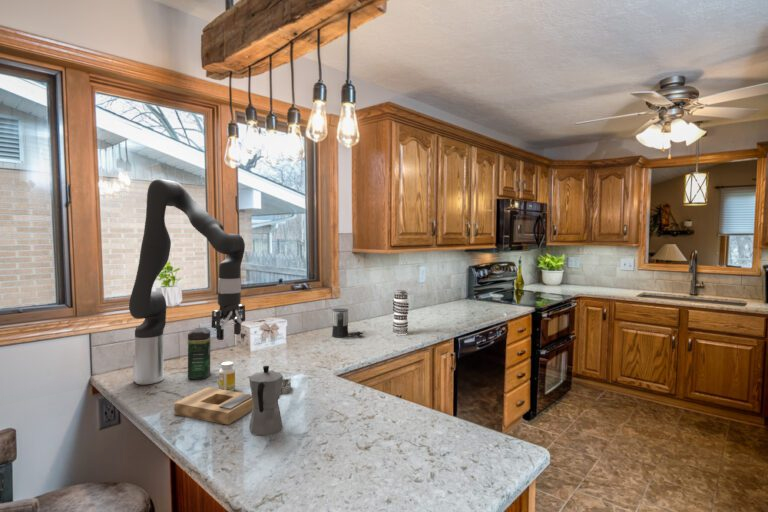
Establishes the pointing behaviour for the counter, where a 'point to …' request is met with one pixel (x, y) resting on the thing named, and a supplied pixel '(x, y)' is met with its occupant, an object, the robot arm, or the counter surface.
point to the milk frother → (341, 323)
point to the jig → (206, 408)
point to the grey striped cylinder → (400, 312)
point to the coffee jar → (199, 353)
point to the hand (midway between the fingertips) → (228, 336)
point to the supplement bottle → (227, 376)
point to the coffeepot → (265, 402)
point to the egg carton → (285, 385)
